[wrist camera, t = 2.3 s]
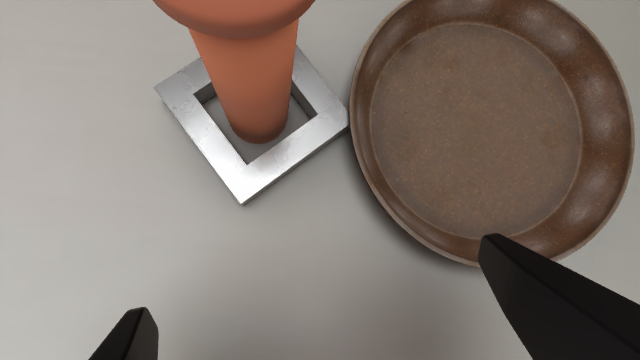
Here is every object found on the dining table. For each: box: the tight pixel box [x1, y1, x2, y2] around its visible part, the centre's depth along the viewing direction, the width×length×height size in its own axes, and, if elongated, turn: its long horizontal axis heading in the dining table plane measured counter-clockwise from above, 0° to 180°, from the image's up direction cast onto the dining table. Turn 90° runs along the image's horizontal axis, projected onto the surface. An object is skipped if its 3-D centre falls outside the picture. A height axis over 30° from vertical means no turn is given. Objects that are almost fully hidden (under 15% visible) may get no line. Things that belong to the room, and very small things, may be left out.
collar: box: [153, 45, 350, 206], centre depth 22 cm, size 8×8×2 cm
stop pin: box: [153, 0, 315, 144], centre depth 16 cm, size 5×5×15 cm
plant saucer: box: [349, 0, 635, 268], centre depth 23 cm, size 18×18×3 cm
